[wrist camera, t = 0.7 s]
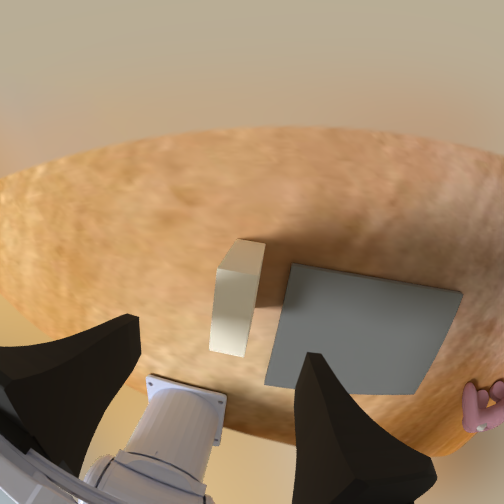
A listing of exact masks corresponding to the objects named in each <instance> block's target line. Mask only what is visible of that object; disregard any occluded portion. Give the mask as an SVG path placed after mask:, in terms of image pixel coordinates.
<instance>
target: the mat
mask: <svg viewBox="0 0 504 504" xmlns="http://www.w3.org/2000/svg"><path fill="white" fill-rule="evenodd" d="M462 297H463V294H462V293H461V292H459V291H453V290H447V289H441V288H435V287H429V286H423V285H418V284H412V283H406V282H400V281H394V280H388V279H382V278H377V277H371V276H365V275H359V274H354V273H348V272H342V271H336V270H330V269H325V268H319V267H313V266H308V265H302V264H296V263H292V265H291V270H290V275H289V279H288V284H287V289H286V293H285V298H284V302H283V307H282V311H281V316H280V320H279V324H278V329H277V333H276V337H275V341H274V345H273V349H272V354H271V358H270V362H269V366H268V370H267V374H266V377H265V383H264V385H269V386H275V387H282V388H290V389H295V386H296V383H297V380H298V378H299V375H300V372H301V369H302V366H303V363H304V360H305V357H306V354H307V352H313V353H321V354H322V355H323V357H324V358H325V360H326V361H327V363H328V364H329V366H330V368H331V369H332V371H333V372H334V374H335V375H336V377H337V378H338V380H339V381H340V383H341V384H342V385H343V387H344V388H345V390H346V391H347V392H348V394H365V395H411V394H414V393H415V392H416V390H417V389H418V387H419V385H420V384H421V382H422V380H423V379H424V377H425V375H426V373H427V372H428V370H429V368H430V366H431V364H432V363H433V361H434V359H435V357H436V355H437V353H438V351H439V349H440V347H441V345H442V343H443V341H444V339H445V337H446V335H447V333H448V331H449V328H450V326H451V324H452V322H453V319H454V317H455V315H456V312H457V310H458V307H459V305H460V302H461V300H462Z"/></svg>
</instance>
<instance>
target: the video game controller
mask: <svg viewBox="0 0 504 504" xmlns="http://www.w3.org/2000/svg"><path fill="white" fill-rule="evenodd" d="M489 394H490V397H491V399H492V400H493V401H495V402H496V404H495V405H493V406H490V407H488V408H486V407H487V404H488V401H489V395H488V393H487V391H485V390H480V391H478V392H477V391H476V388H475V386H474V384H473V383H471V382H469V383H467V384H466V386H465V388H464V391H463V397H462V408H463V420H462V425H463V428H464V430H465V431H467V432H469V433H474V432H483V431H487V430H489V429H493V428H495V427H497V426H498V425H500V424H501V423H503V422H504V383H503V382H502V381H498V382H496V383H495V384H494V385H493V386H492V387H491V388H490V391H489Z"/></svg>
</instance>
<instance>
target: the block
mask: <svg viewBox="0 0 504 504" xmlns="http://www.w3.org/2000/svg"><path fill="white" fill-rule="evenodd" d="M265 245H266V244H265V243H259V242H253V241H248V240H242V239H236V241H235V242H234V244H233V245H232V247H231V248H230V250H229V251H228V253H227V254H226V256H225V257H224V259H223V260H222V262H221V263H220V265H219V266H218V268H217V275H216V284H215V293H214V302H213V312H212V322H211V333H210V344H209V350H211V351H215V352H220V353H225V354H230V355H235V356H240V357H244V355H245V350H246V346H247V341H248V336H249V332H250V327H251V322H252V318H253V313H254V308H255V303H256V297H257V291H258V286H259V280H260V274H261V268H262V263H263V257H264V251H265Z"/></svg>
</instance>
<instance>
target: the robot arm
mask: <svg viewBox="0 0 504 504" xmlns="http://www.w3.org/2000/svg"><path fill="white" fill-rule="evenodd" d="M140 355H141V342H140V328H139V317H137V316H134V315H131V314H124V315H121V316H119V317H116V318H114V319H112V320H109V321H107V322H105V323H103V324H100V325H98V326H96V327H93V328H91V329H88V330H86V331H83V332H80V333H78V334H75V335H72V336H70V337H66V338H63V339H60V340H56V341H52V342H47V343H42V344H36V345H29V346H18V347H17V346H16V347H0V489H1V490H2V491H3V492H4V493H5V494H7V496H9V497H10V498H11V499H12V500H13V501H14V502H15V503H17V504H215V503H214V502H213V499H212V497H211V496H209V495H206V494H205V490H206V486H207V485H205V484H203V483H202V482H203V478H204V475H205V471H206V467H207V463H208V460H209V456H210V453H211V449H212V446H219V445H220V441H221V434H222V428H223V421H224V414H225V408H226V401H227V396H226V395H225V394H222V393H218V392H213V391H209V390H205V389H201V388H196V387H192V386H189V385H185V384H181V383H177V382H174V381H170V380H167V379H163V378H160V377H157V376H153V375H147V377H146V384H147V392H148V399H149V404H148V406H147V408H146V410H145V411H144V413H143V415H142V417H141V419H140V421H139V423H138V424H137V426H136V428H135V430H134V432H133V434H132V435H131V438H130V439H129V441H128V443H127V445H126V447H125V448H124V450H121V449H120V450H119V451H118V453H117V455H116V457H113V456H112V455H110V454H107V455H105V456H101V457H99V458H97V459H96V460H95V462H94V463H93V464H92V466H91V467H90V469H89V470H88V472H87V474H86V476H85V478H84V480H83V481H81V480H80V479H78V478H79V474H80V470H81V467H82V464H83V461H84V458H85V455H86V452H87V450H88V447H89V445H90V442H91V440H92V437H93V435H94V433H95V430H96V428H97V426H98V424H99V422H100V420H101V418H102V416H103V414H104V412H105V410H106V409H107V407H108V406H109V404H110V402H111V401H112V400H113V398H114V397H115V395H116V394H117V393H118V391H119V390H120V388H121V387H122V385H123V384H124V383H125V381H126V380H127V378H128V377H129V375H130V374H131V373H132V371H133V369H134V367H135V365H136V364H137V362H138V359H139V357H140ZM221 401H222V402H221ZM294 416H295V432H296V449H297V458H296V471H295V482H294V491H293V498H292V504H414V501H415V500H416V499H417V498H419V497H420V496H421V495H423V494H424V493H425V492H426V491H428V490H429V489H430V488H431V487H432V486H433V485H434V484H435V482H436V480H437V475H436V471H435V469H434V466H433V463H432V460H431V458H430V457H428V456H426V455H424V454H422V453H420V452H418V451H416V450H414V449H412V448H410V447H409V446H407V445H405V444H404V443H402V442H401V441H399V440H398V439H396V438H395V437H393V436H392V435H391V434H389V433H388V432H387V431H385V430H384V429H383V428H382V427H380V426H379V425H378V424H377V423H376V422H375V421H373V420H372V419H371V418H370V417H369V416H368V415H367V414H366V413H365V412H364V411H363V410H362V409H361V408H360V407H359V405H358V404H357V403H356V402H355V401H354V400H353V398H352V397H351V396H350V395H349V394H348V392H347V391H346V390H345V388H344V387H343V385H342V384H341V383H340V381H339V380H338V378H337V377H336V375H335V374H334V372H333V371H332V369H331V368H330V366H329V364H328V363H327V361H326V360H325V358H324V357H323V355H322V354H321V353H313V352H307V354H306V357H305V360H304V363H303V366H302V369H301V372H300V375H299V378H298V380H297V383H296V386H295V398H294ZM59 487H60V488H59ZM62 489H63V490H65V491H66V492H68V493H70V494H71V495H73V496H75V497H77V498H78V503H77V502H76V501H75V500H74V499H73V497H72V496H71V495H69V494H67V493H66V492H65V491H63V490H62Z"/></svg>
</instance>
